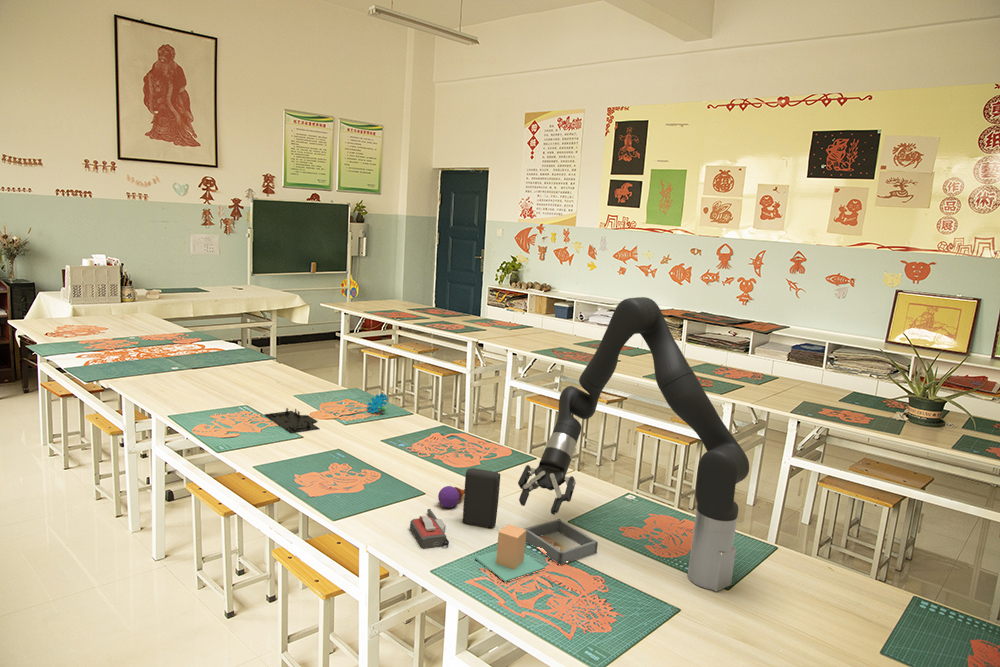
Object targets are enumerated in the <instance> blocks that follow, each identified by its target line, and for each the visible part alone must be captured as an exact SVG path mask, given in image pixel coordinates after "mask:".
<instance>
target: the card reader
mask: <svg viewBox="0 0 1000 667" xmlns="http://www.w3.org/2000/svg"><path fill="white" fill-rule="evenodd" d="M500 484H501V473H500V472H498V471H492V470H487V469H481V468H475V467H471V468H467V470H466V471H465V481H464V489H465V490H464V489H463V490H464V495H463V506H462V508H463V509H462V511H463V512H462V522H463V523H465V524H468V525H474V526H479V527H483V528H484V527H485V528H488V529H489V528H490V529H491V528H495V527H496V523H497V516H498V509H499V497H500V496H499V495H500V486H501V485H500Z"/></svg>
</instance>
